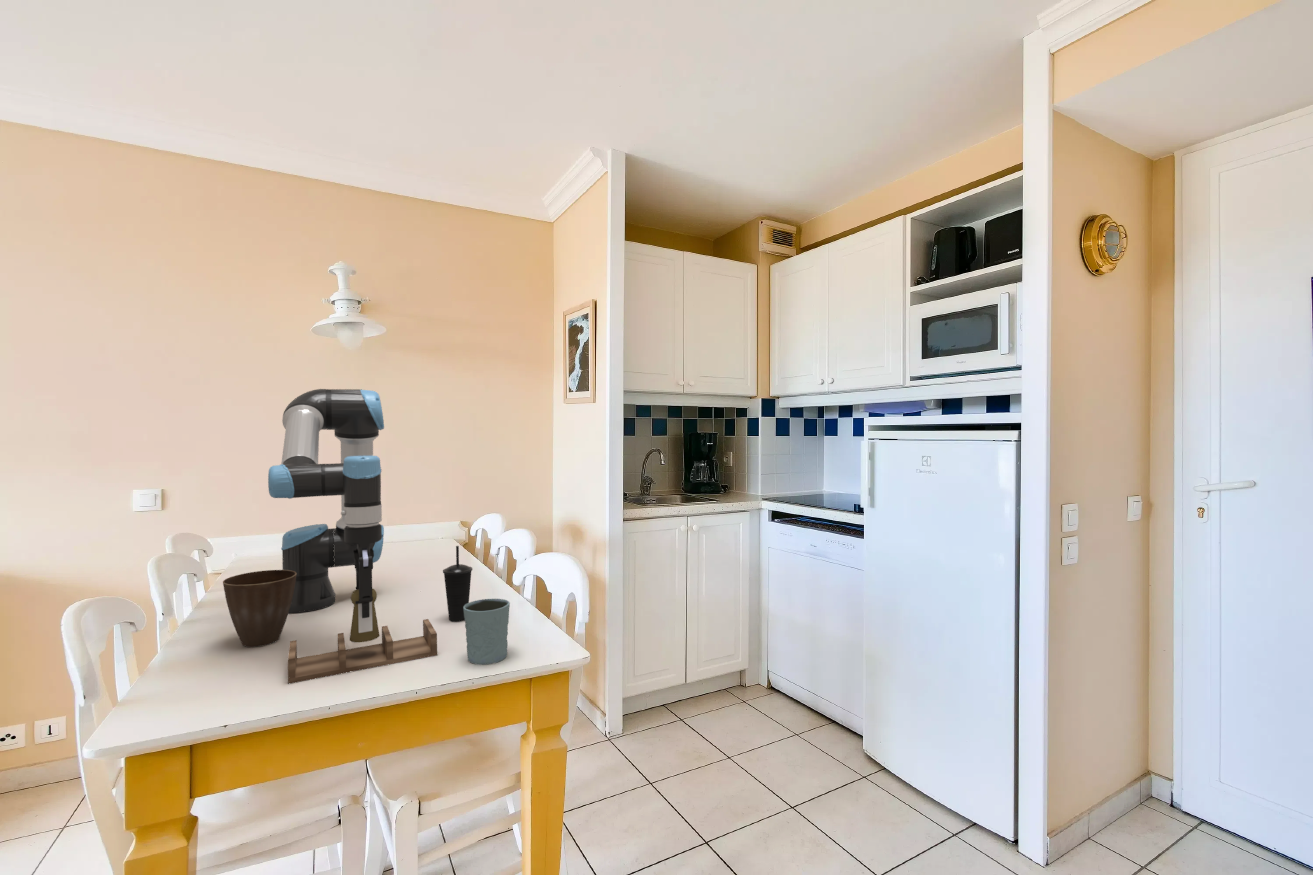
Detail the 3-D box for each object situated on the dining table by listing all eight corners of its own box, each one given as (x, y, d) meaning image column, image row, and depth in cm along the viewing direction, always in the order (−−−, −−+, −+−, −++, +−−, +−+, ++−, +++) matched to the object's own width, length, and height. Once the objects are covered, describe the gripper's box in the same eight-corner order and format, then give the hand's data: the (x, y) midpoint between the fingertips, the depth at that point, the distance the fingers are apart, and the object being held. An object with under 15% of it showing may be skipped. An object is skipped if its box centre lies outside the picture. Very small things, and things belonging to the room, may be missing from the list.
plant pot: (303, 628, 152) (302, 567, 152) (289, 648, 138) (288, 581, 138) (236, 635, 147) (234, 572, 147) (214, 656, 133) (212, 587, 133)
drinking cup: (456, 625, 153) (455, 549, 153) (437, 620, 157) (436, 547, 157) (479, 617, 160) (478, 544, 159) (460, 612, 164) (459, 542, 163)
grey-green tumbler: (471, 669, 125) (470, 613, 125) (458, 654, 133) (457, 602, 133) (516, 658, 130) (516, 605, 130) (502, 645, 139) (501, 595, 139)
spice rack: (290, 663, 129) (290, 641, 129) (428, 639, 143) (428, 618, 143) (288, 683, 118) (287, 659, 118) (437, 655, 133) (436, 633, 133)
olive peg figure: (346, 637, 131) (345, 588, 131) (375, 630, 135) (374, 583, 135) (353, 644, 126) (352, 594, 126) (382, 637, 130) (382, 589, 130)
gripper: (342, 520, 136) (344, 619, 137) (345, 531, 121) (347, 643, 121) (377, 517, 140) (379, 613, 140) (385, 528, 125) (387, 636, 125)
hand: (364, 627), depth 131 cm, fingers closed on olive peg figure, 5 cm apart
